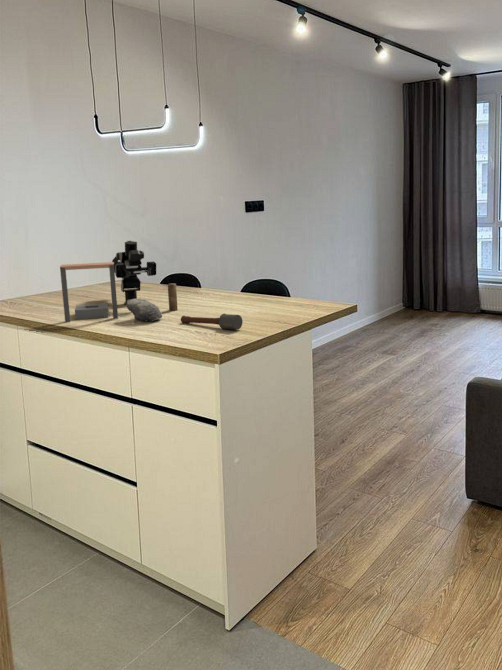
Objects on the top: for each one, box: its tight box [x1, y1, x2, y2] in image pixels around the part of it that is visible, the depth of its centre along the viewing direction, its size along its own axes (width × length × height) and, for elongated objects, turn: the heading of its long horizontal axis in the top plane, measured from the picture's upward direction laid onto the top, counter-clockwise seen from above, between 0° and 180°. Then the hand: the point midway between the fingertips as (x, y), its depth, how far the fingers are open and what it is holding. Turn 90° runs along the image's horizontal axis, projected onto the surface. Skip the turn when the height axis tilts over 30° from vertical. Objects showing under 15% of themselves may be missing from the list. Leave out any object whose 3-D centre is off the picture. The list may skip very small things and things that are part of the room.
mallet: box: [180, 313, 243, 330], centre depth 248 cm, size 6×6×30 cm
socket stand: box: [59, 261, 119, 323], centre depth 276 cm, size 19×22×24 cm
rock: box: [125, 298, 163, 323], centre depth 265 cm, size 11×17×10 cm, turn 46°
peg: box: [167, 283, 179, 312], centre depth 287 cm, size 4×4×12 cm
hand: (139, 275), depth 285 cm, fingers open, 9 cm apart
